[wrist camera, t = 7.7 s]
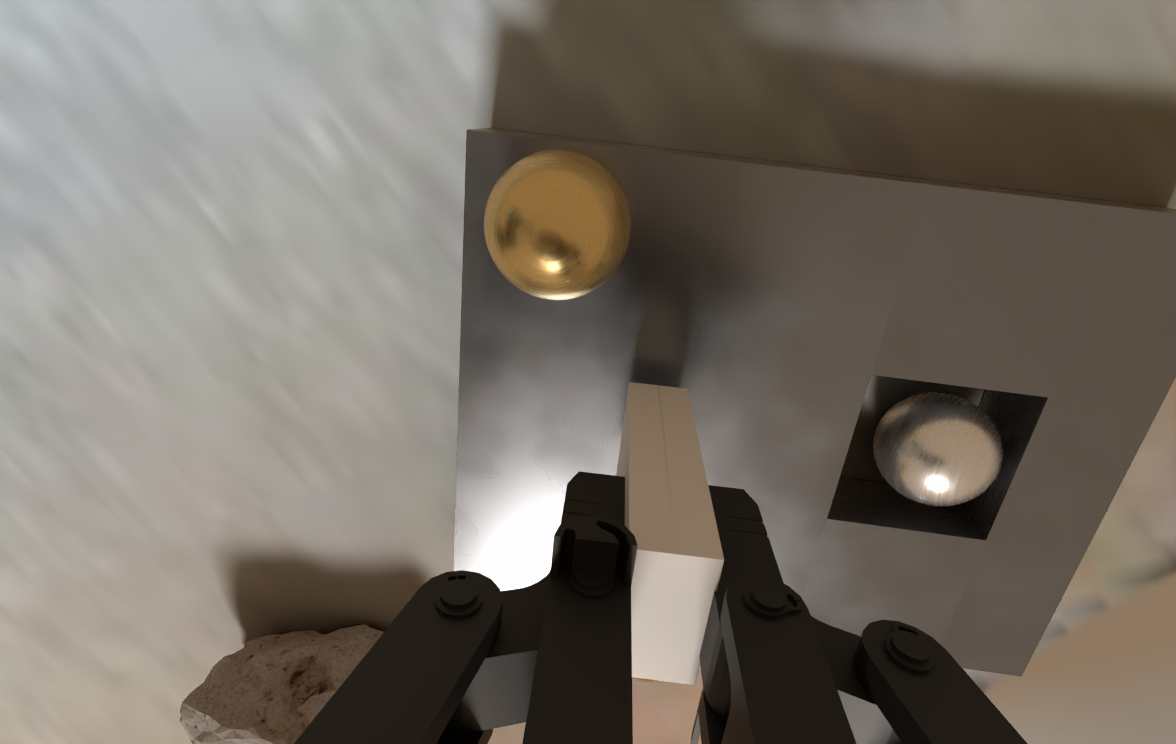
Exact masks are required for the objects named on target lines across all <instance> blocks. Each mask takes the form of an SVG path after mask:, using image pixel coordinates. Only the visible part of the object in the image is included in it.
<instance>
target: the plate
mask: <svg viewBox="0 0 1176 744" xmlns="http://www.w3.org/2000/svg"><path fill="white" fill-rule="evenodd" d="M545 150H566V151H571V152H576V153H579V154H582V155H585V156H587V157H589V158H591V159H593V160H594V161H596V162H597V163H599V164H600V165H602V166H603V167H604V168H605V169H606V170H607V171H608V172H609V173H610V174H611V175H612V176H613V177H614V179H615V180H616V181H617V183H618V185H619V186H620V188H621V190H622V192H623V194H624V196H625V199H626V202H627V205H628V208H629V213H630V223H631V229H630V239H629V244H628V247H627V250H626V253H625V256H624V258H623V260H622V262H621V264H620V265H619V267H618V268H617V270H616V271H615V273H614V274H613V275H612V276H611V277H610V278H609V280H607V281H606V282H605V283H604V284H603V285H602V286H600V287H599V288H597V289H596V290H594V291H592V292H590V293H588V294H586V295H584V296H581V297H578V298H574V299H569V300H548V299H542V298H538V297H535V296H532V295H530V294H528V293H526V292H524V291H522V290H520V289H519V288H517V287H516V286H514V285H513V284H512V283H511V282H509V281H508V280H507V279H506V278H505V277H504V276H503V274H502V273H501V272H500V271H499V269H498V268H497V267H496V265H495V263H494V261H493V260H492V258H491V255H490V253H489V251H488V248H487V244H486V241H485V234H484V215H485V209H486V205H487V201H488V198H489V195H490V193H491V191H492V189H493V187H494V185H495V183H496V182H497V181H498V179H499V178H500V177H501V175H502V174H503V173H504V172H505V171H506V170H507V169H508V168H509V167H511V166H512V165H513V164H514V163H516V162H517V161H519V160H520V159H522V158H524V157H526V156H528V155H531V154H533V153H537V152H541V151H545ZM871 375H877V376H885V377H893V378H900V379H908V380H916V381H924V382H932V383H939V384H947V385H955V386H963V387H971V388H978V389H986V390H985V393H984V395H983V398H982V401H981V403H980V406H979V408H980V409H981V410H982V411H984V412H985V413H986V414H987V415H988V417H989V418H990V419H991V420H992V422H993V423H994V425H995V427H996V428H997V430H998V433H999V435H1000V438H1001V442H1002V450H1003V455H1002V463H1001V467H1000V470H999V472H998V475H997V477H996V478H995V480H994V481H993V483H992V484H991V485H990V486H989V487H988V488H987V489H986V490H985V491H984V492H983V493H982V494H980V495H979V496H977V497H975V498H974V499H972V500H970V501H967V502H964V503H961V504H957V505H952V506H932V505H926V504H923V503H919V502H916V501H914V500H911V499H909V498H907V497H905V496H903V495H902V494H900V493H899V492H898V491H896V490H895V489H894V488H893V487H892V486H891V485H890V484H886V483H879V482H871V481H864V480H856V479H849V478H841V477H840V475H841V471H842V468H843V465H844V462H845V458H846V455H847V452H848V449H849V446H850V442H851V439H852V436H853V433H854V429H855V426H856V423H857V420H858V416H859V413H860V410H861V407H862V403H863V400H864V397H865V394H866V390H867V387H868V384H869V381H870V377H871ZM1175 377H1176V209H1170V208H1163V207H1154V206H1146V205H1137V204H1129V203H1120V202H1112V201H1103V200H1095V199H1087V198H1078V197H1070V196H1061V195H1053V194H1044V193H1036V192H1027V191H1019V190H1010V189H1002V188H993V187H985V186H976V185H968V184H959V183H951V182H943V181H934V180H926V179H917V178H909V177H900V176H892V175H883V174H875V173H866V172H858V171H849V170H841V169H832V168H824V167H816V166H807V165H799V164H790V163H782V162H773V161H765V160H756V159H748V158H739V157H731V156H722V155H714V154H705V153H697V152H688V151H680V150H672V149H663V148H655V147H646V146H638V145H629V144H621V143H612V142H604V141H595V140H587V139H578V138H570V137H561V136H553V135H544V134H536V133H528V132H519V131H511V130H502V129H494V128H485V129H471V130H467V138H466V171H465V205H464V238H463V272H462V305H461V339H460V372H459V405H458V439H457V472H456V506H455V539H454V571H461V570H464V571H471V572H477V573H480V574H482V575H484V576H486V577H488V578H490V579H492V580H493V582H494V583H495V584H496V585H497V586H498V587H499V588H500V591H506V590H513V589H519V588H523V587H527V586H530V585H532V584H534V583H537V582H538V581H540V580H541V579H542V578H544V577H545V576H546V575H547V574H548V573H549V571H550V570H551V561H552V551H553V540H554V535H555V533H556V531H557V529H558V527H559V526H560V524H561V518H562V513H563V506H564V501H565V494H566V488H567V483H568V482H569V481H570V480H571V479H572V478H573V477H574V476H575V475H576V474H577V473H578V472H579V471H580V472H589V473H597V474H606V475H614V476H616V473H617V465H618V458H619V451H620V444H621V436H622V429H623V422H624V415H625V407H626V400H627V393H628V386H629V382H633V383H642V384H651V385H659V386H668V387H677V388H685V389H688V393H689V398H690V403H691V407H692V412H693V417H694V421H695V426H696V431H697V435H698V440H699V445H700V449H701V454H702V459H703V463H704V468H705V473H706V477H707V482H708V485H712V486H721V487H729V488H738V489H744V490H745V491H746V493H747V494H748V495H749V496H750V497H751V498H752V499H753V500H754V501H755V502H756V503H757V504H758V507H759V510H760V513H761V516H762V519H763V524H764V525H765V528H766V531H767V537H769V540H770V543H771V546H772V549H773V552H774V555H775V558H776V561H777V564H778V567H779V570H780V573H781V576H782V579H783V583H784V584H786V585H788V586H789V587H790V588H792V589H793V590H794V591H795V592H796V593H797V594H799V595H800V596H801V598H802V599H803V601H804V603H805V604H806V606H807V607H808V610H809V612H810V615H811V616H812V617H814V618H816V619H817V620H819V621H821V622H824V623H826V624H828V625H830V626H833V627H836V628H839V629H841V630H844V631H847V632H850V633H853V634H855V635H858V636H861V634H862V631H863V630H864V629H865V628H866V626H867V625H868V624H869V623H871V622H875V621H878V620H892V621H899V622H902V623H905V624H908V625H911V626H914V627H916V628H918V629H919V630H921V631H923V632H924V633H926V634H928V635H929V636H931V637H933V638H934V639H935V640H936V641H937V642H938V643H939V644H940V645H941V646H943V647H944V648H945V649H946V650H947V651H948V652H949V654H950V655H951V656H952V657H953V658H954V659H955V660H956V662H957V663H958V664H959V665H960V666H961V667H962V668H966V669H973V670H980V671H987V672H994V673H1001V674H1008V675H1015V676H1022V674H1023V672H1024V670H1025V669H1026V667H1027V665H1028V663H1029V661H1030V659H1031V657H1032V655H1033V653H1034V651H1035V649H1036V647H1037V645H1038V643H1039V641H1040V639H1041V637H1042V636H1043V634H1044V632H1045V630H1046V628H1047V626H1048V624H1049V622H1050V620H1051V618H1052V616H1053V614H1054V612H1055V610H1056V608H1057V606H1058V604H1059V603H1060V601H1061V599H1062V597H1063V595H1064V593H1065V591H1066V589H1067V587H1068V585H1069V583H1070V581H1071V579H1072V577H1073V575H1074V573H1075V571H1076V570H1077V568H1078V566H1079V564H1080V562H1081V560H1082V558H1083V556H1084V554H1085V552H1086V550H1087V548H1088V546H1089V544H1090V542H1091V540H1092V538H1093V537H1094V535H1095V533H1096V531H1097V529H1098V527H1099V525H1100V523H1101V521H1102V519H1103V517H1104V515H1105V513H1106V511H1107V509H1108V507H1109V505H1110V504H1111V502H1112V500H1113V498H1114V496H1115V494H1116V492H1117V490H1118V488H1119V486H1120V484H1121V482H1122V480H1123V478H1124V476H1125V474H1126V472H1127V471H1128V469H1129V467H1130V465H1131V463H1132V461H1133V459H1134V457H1135V455H1136V453H1137V451H1138V449H1139V447H1140V445H1141V443H1142V441H1143V439H1144V438H1145V436H1146V434H1147V432H1148V430H1149V428H1150V426H1151V424H1152V422H1153V420H1154V418H1155V416H1156V414H1157V412H1158V410H1159V408H1160V406H1161V405H1162V403H1163V401H1164V399H1165V397H1166V395H1167V393H1168V391H1169V389H1170V387H1171V385H1172V383H1173V381H1174V379H1175Z"/></svg>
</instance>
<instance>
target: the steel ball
mask: <svg viewBox="0 0 1176 744" xmlns="http://www.w3.org/2000/svg"><path fill="white" fill-rule="evenodd" d="M873 452H874V458H875V461H876V464H877V467H878V469H879V471H880V473H881V474H882V476H883V477H884V478H885V480H886V481H887V482H888V483H889V484H890V485H891V486H892V487H893V488H894V489H895V490H896V491H898V492H899V493H900V494H902V495H903V496H905V497H907V498H909V499H911V500H914V501H916V502H919V503H923V504H926V505H932V506H952V505H957V504H961V503H964V502H967V501H970V500H972V499H974V498H975V497H977V496H979V495H980V494H982V493H983V492H984V491H985V490H986V489H987V488H988V487H989V486H990V485H991V484H992V483H993V481H994V480H995V478H996V477H997V475H998V472H999V470H1000V467H1001V463H1002V455H1003V450H1002V442H1001V438H1000V435H999V433H998V430H997V428H996V427H995V425H994V423H993V422H992V420H991V419H990V418H989V417H988V415H987V414H986V413H985V412H984V411H982V410H981V409H980V408H979V407H977V406H976V405H975V404H973V403H971V402H969V401H968V400H966V399H963V398H961V397H958V396H955V395H951V394H946V393H936V392H931V393H922V394H917V395H913V396H910V397H908V398H906V399H903V400H901V401H900V402H898V403H897V404H895V405H894V406H892V407H891V408H890V409H889V410H888V411H887V412H886V413H885V414H884V416H883V417H882V418H881V420H880V422H879V424H878V426H877V428H876V431H875V435H874V440H873Z"/></svg>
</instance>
